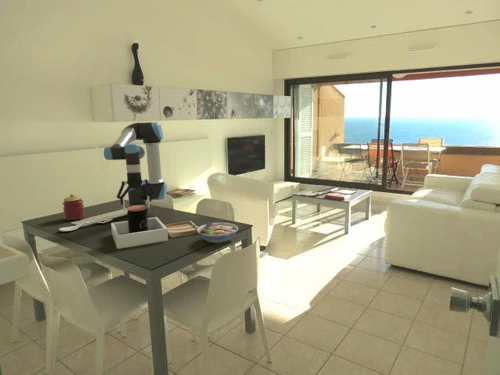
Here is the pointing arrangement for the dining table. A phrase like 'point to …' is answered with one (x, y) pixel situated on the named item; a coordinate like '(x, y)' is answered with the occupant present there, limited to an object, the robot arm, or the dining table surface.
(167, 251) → the dining table surface
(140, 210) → the coffee jar
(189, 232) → the tray
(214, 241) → the ramen bowl
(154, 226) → the crate
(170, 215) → the dining table surface
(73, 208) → the canister
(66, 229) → the spoon
